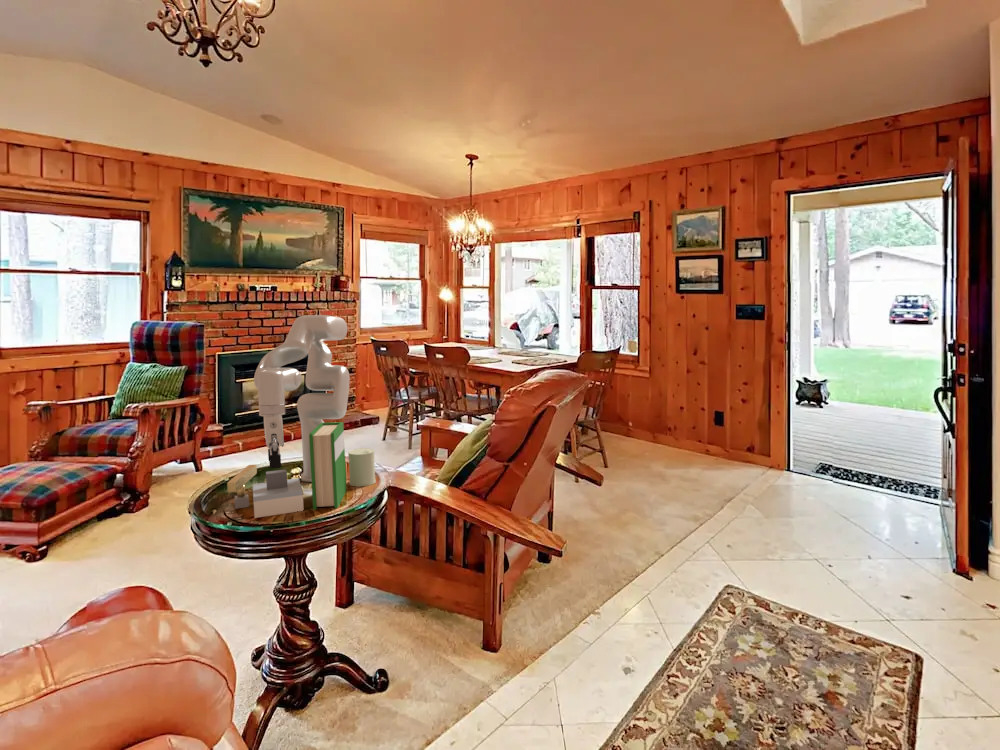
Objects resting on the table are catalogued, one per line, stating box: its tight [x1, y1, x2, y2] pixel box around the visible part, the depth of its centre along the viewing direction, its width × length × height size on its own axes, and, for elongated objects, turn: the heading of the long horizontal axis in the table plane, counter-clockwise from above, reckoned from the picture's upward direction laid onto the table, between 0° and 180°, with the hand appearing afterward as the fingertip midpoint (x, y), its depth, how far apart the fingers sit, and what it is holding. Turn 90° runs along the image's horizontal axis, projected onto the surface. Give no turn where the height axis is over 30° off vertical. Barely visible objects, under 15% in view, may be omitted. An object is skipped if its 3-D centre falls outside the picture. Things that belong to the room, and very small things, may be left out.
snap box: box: [233, 493, 305, 519], centre depth 177 cm, size 20×16×5 cm
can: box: [347, 447, 377, 487], centre depth 202 cm, size 9×9×12 cm
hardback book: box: [309, 421, 347, 511], centre depth 183 cm, size 18×7×24 cm, turn 6°
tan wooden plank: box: [227, 464, 258, 497], centre depth 181 cm, size 20×2×7 cm, turn 6°
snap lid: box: [252, 469, 304, 503], centre depth 177 cm, size 14×14×6 cm
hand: (274, 464), depth 176 cm, fingers open, 9 cm apart
